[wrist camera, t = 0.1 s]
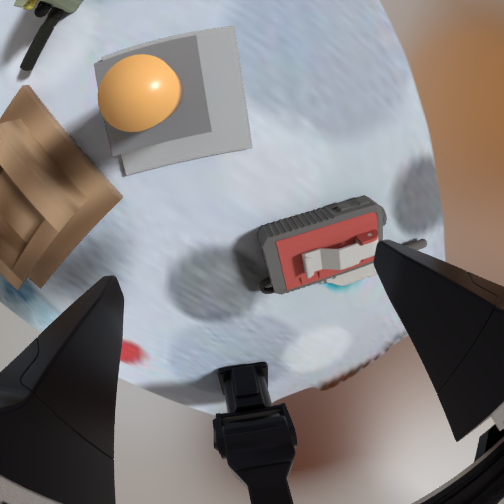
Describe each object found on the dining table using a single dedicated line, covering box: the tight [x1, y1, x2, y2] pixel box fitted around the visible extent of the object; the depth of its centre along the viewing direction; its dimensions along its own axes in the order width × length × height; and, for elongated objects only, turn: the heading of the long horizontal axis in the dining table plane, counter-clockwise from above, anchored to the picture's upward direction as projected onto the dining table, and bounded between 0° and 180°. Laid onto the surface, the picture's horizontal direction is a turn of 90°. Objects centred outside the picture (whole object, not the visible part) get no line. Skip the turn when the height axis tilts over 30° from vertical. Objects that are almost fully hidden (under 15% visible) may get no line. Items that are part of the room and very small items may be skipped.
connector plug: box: [94, 35, 212, 157], centre depth 12 cm, size 4×4×13 cm
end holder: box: [0, 85, 123, 290], centre depth 17 cm, size 14×14×5 cm
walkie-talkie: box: [257, 195, 427, 294], centre depth 26 cm, size 9×4×20 cm
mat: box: [102, 26, 252, 176], centre depth 18 cm, size 10×10×1 cm
